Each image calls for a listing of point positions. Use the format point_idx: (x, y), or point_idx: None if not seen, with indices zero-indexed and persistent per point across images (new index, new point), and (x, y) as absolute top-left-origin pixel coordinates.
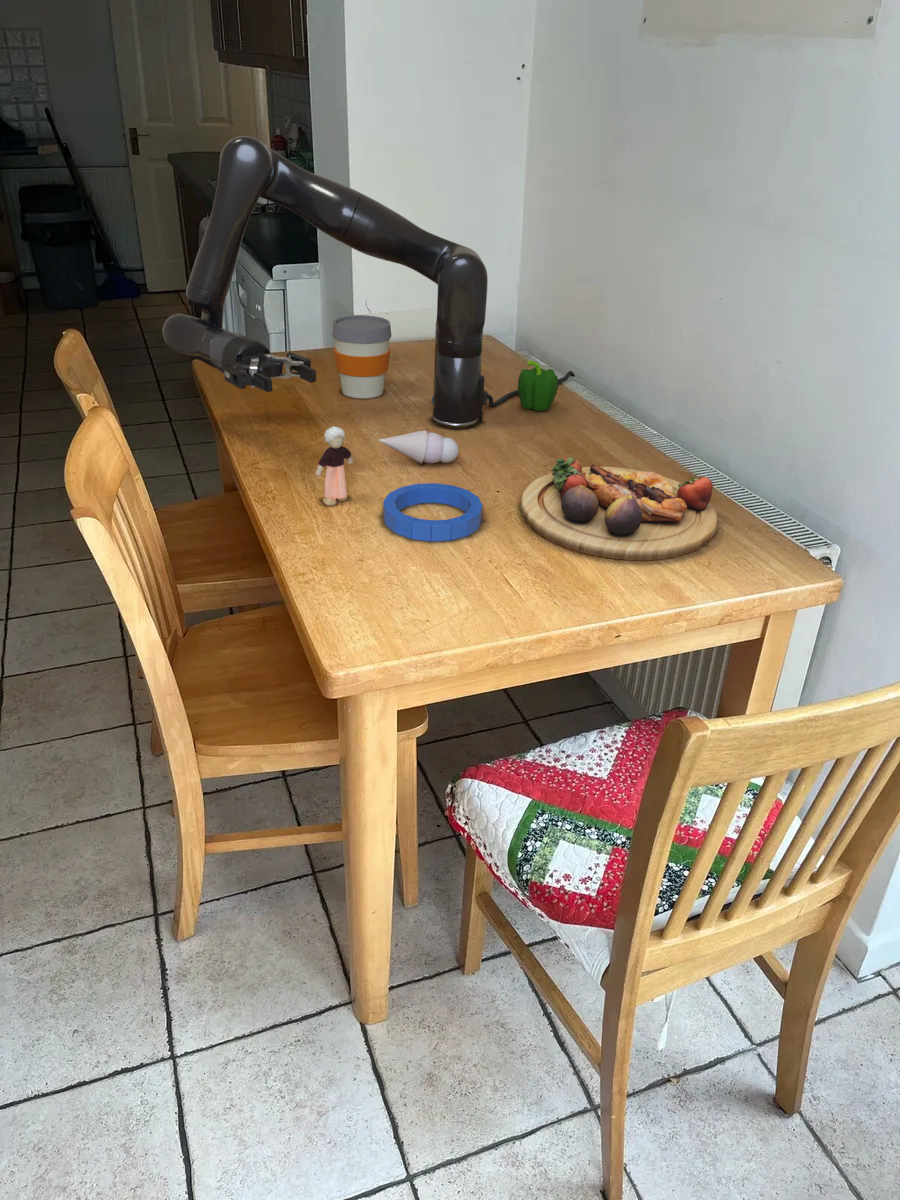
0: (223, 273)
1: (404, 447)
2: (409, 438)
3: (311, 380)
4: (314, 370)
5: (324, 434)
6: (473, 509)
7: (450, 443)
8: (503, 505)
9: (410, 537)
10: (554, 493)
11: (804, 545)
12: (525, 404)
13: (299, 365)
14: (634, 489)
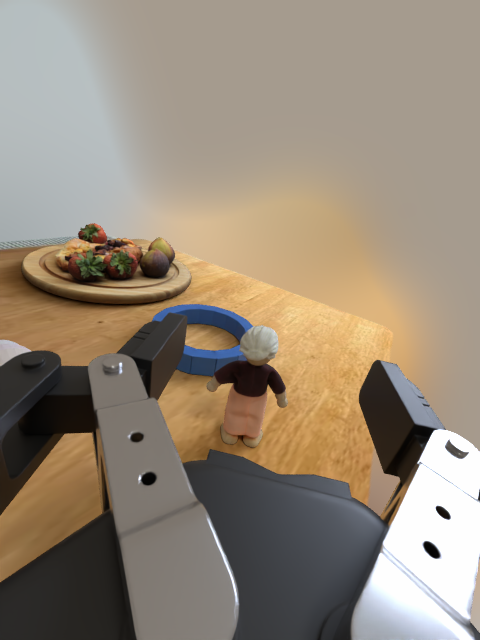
0: None
1: None
2: None
3: (182, 350)
4: (171, 313)
5: (275, 351)
6: (194, 307)
7: (11, 341)
8: (134, 315)
9: None
10: (114, 283)
11: (109, 238)
12: None
13: (152, 361)
14: (111, 247)
